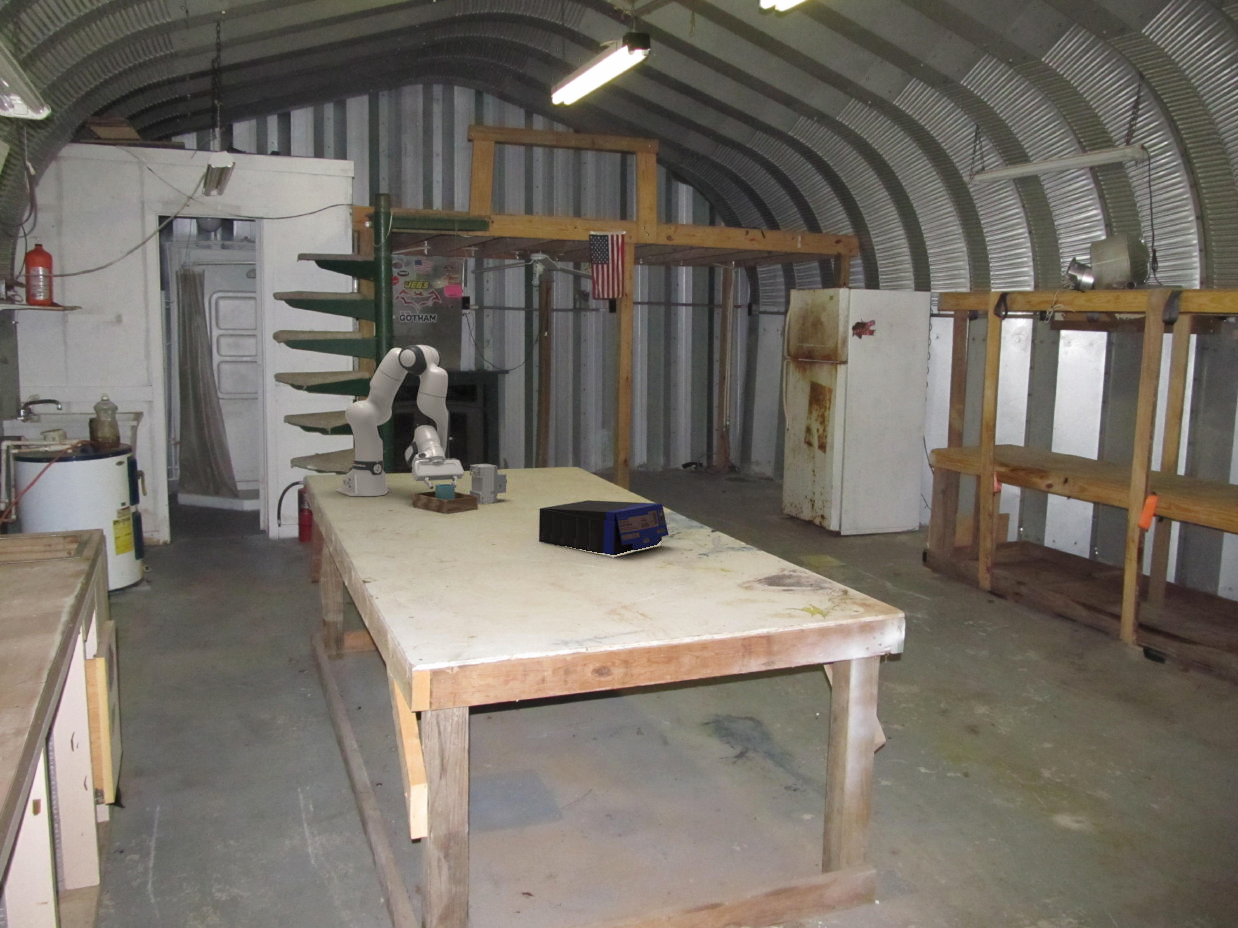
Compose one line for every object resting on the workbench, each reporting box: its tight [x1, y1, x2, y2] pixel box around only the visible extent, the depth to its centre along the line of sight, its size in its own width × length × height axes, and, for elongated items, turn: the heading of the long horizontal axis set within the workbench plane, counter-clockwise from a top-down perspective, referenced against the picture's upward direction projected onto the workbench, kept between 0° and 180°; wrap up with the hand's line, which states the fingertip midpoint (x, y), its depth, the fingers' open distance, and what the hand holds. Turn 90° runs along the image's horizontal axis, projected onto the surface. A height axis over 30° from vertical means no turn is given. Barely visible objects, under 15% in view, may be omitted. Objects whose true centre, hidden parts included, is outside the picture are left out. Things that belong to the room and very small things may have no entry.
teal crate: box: [434, 483, 456, 500], centre depth 362 cm, size 6×6×8 cm
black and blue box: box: [538, 499, 669, 555], centre depth 305 cm, size 25×35×14 cm
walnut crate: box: [411, 490, 479, 515], centre depth 362 cm, size 20×16×5 cm
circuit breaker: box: [469, 463, 508, 505], centre depth 379 cm, size 8×14×15 cm, turn 133°
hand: (443, 487), depth 363 cm, fingers open, 8 cm apart
